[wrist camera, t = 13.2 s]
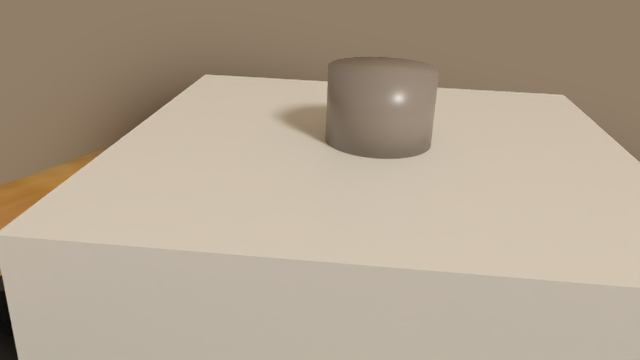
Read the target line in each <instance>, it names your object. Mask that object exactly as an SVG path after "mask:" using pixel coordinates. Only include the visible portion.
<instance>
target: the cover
mask: <svg viewBox="0 0 640 360" xmlns="http://www.w3.org/2000/svg"><path fill="white" fill-rule="evenodd" d="M438 76H439V70H438V69H437V68H436V67H434V66H432V65H429V64H426V63H422V62H418V61H413V60H406V59H398V58H387V57H354V58H344V59H339V60H335V61H332V62H331V63H329V65H328V82H326V81H308V80H291V79H274V78H273V79H272V78H256V77H238V76H221V75H220V76H219V75H205V76H203V77H202V78H200V79H199V80H198V81H196V82H195V83H194V84H192V85H191V86H190V87H189V88H187V89H186V90H185V91H183V92H182V93H181V94H179V95H178V96H177V97H175V98H174V99H173V100H171V101H170V102H169V103H167V104H166V105H165V106H163V107H162V108H161V109H159V110H158V111H157V112H156V113H154V114H153V115H152V116H150V117H149V118H148V119H146V120H145V121H144V122H142V123H141V124H140V125H138V126H137V127H136V128H134V129H133V130H132V131H130V132H129V133H128V134H127V135H125V136H124V137H123V138H121V139H120V140H119V141H117V142H116V143H115V144H113V145H112V146H111V147H109V148H108V149H107V150H105V151H104V152H103V153H101V154H100V155H99V156H98V157H96V158H95V159H94V160H92V161H91V162H90V163H88V164H87V165H86V166H84V167H83V168H82V169H80V170H79V171H78V172H76V173H75V174H74V175H72V176H71V177H70V178H68V179H67V180H66V181H65V182H63V183H62V184H61V185H59V186H58V187H57V188H55V189H54V190H53V191H51V192H50V193H49V194H47V195H46V196H45V197H43V198H42V199H41V200H39V201H38V202H37V203H36V204H34V205H33V206H32V207H30V208H29V209H28V210H26V211H25V212H24V213H22V214H21V215H20V216H18V217H17V218H16V219H14V220H13V221H12V222H10V223H9V224H8V225H7V226H5V227H4V228H3V229H1V230H0V268H1V273H2V278H3V283H4V288H5V294H6V299H7V304H8V309H9V314H10V319H11V324H12V329H13V334H14V340H15V345H16V350H17V355H18V360H640V162H639V161H637V160H636V159H635V158H634V157H633V156H632V155H631V154H629V153H628V152H627V151H626V150H625V149H624V148H623V147H622V146H620V145H619V144H618V143H617V142H616V141H615V140H614V139H613V138H611V137H610V136H609V135H608V134H607V133H606V132H605V131H604V130H602V129H601V128H600V127H599V126H598V125H597V124H596V123H595V122H593V121H592V120H591V119H590V118H589V117H588V116H587V115H586V114H584V113H583V112H582V111H581V110H580V109H579V108H578V107H577V106H575V105H574V104H573V103H572V102H571V101H570V100H569V99H568V98H566V97H565V96H564V95H554V94H537V93H520V92H501V91H485V90H483V91H482V90H467V89H449V88H437V86H438Z"/></svg>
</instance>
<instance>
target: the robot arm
mask: <svg viewBox="0 0 640 360" xmlns="http://www.w3.org/2000/svg"><path fill="white" fill-rule="evenodd" d="M0 360H18V355H17V350H16V345H15V340H14V334H13V329H12V324H11V319H10V314H9V309H8V304H7V299H6V294H5V288H4V283H3V278H2V275H1V276H0Z"/></svg>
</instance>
